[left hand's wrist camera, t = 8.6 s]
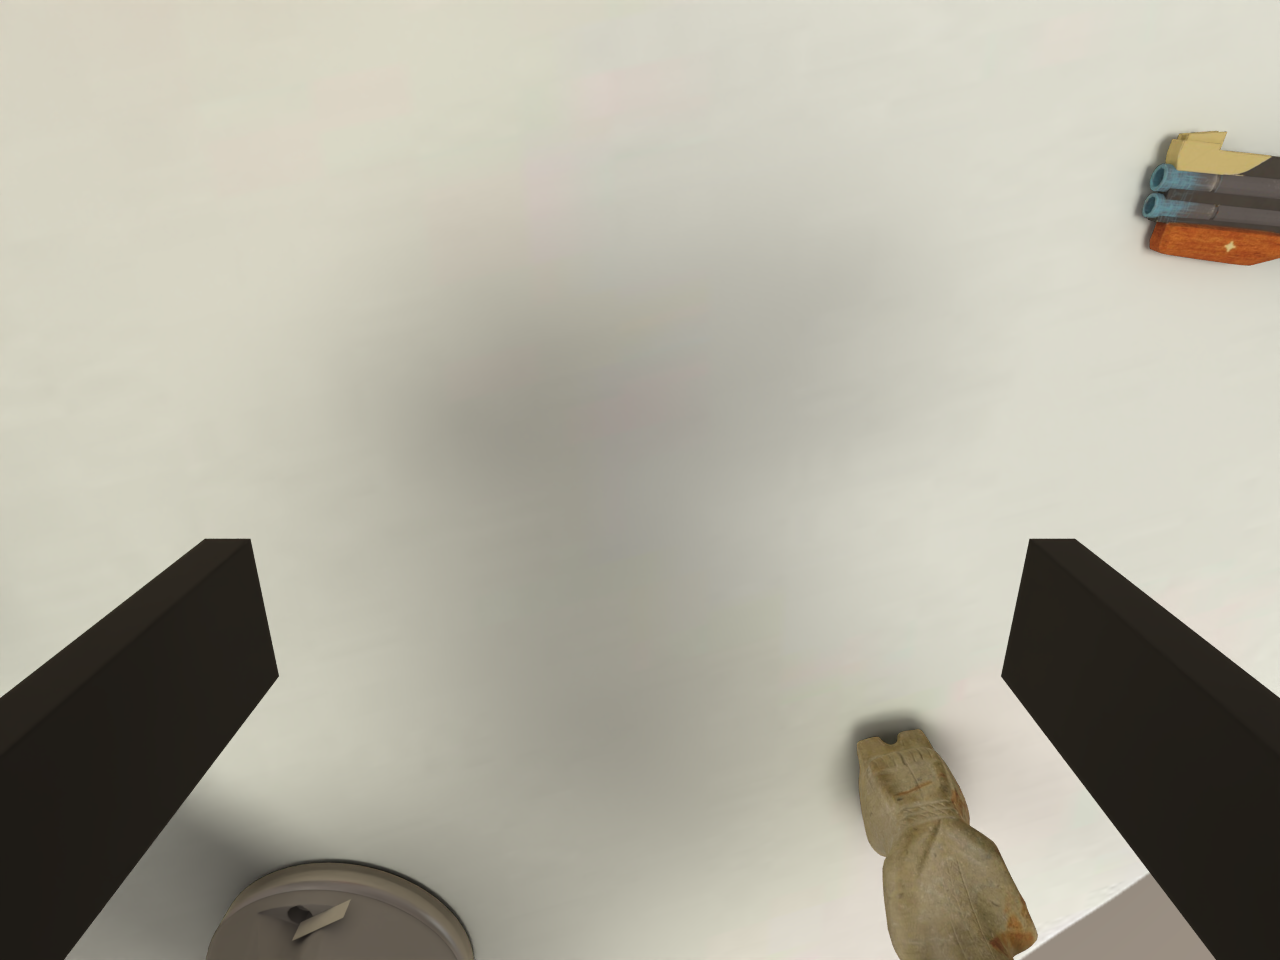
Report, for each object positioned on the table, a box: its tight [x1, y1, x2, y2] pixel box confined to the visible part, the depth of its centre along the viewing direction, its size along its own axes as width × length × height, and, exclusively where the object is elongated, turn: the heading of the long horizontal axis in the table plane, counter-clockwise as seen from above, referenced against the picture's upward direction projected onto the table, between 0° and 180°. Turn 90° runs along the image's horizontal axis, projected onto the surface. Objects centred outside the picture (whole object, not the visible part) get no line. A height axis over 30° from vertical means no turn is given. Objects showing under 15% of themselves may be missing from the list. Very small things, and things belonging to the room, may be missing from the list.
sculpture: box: [857, 729, 1038, 960], centre depth 32 cm, size 6×7×15 cm
